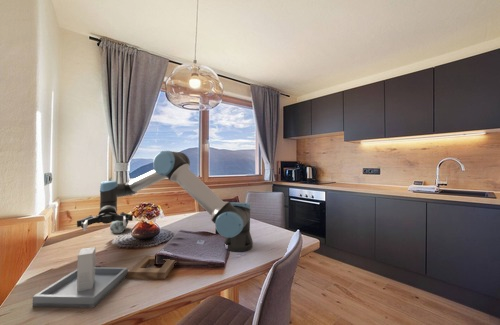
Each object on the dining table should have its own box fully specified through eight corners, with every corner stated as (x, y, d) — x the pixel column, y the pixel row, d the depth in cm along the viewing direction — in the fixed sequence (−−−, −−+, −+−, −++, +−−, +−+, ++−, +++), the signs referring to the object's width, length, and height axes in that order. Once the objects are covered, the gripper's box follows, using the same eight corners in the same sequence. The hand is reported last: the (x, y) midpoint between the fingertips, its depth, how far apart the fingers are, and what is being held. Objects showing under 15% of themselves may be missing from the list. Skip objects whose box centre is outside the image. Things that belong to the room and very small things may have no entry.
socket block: (177, 261, 94) (177, 256, 94) (164, 279, 80) (165, 272, 80) (145, 261, 93) (145, 255, 93) (127, 278, 79) (127, 271, 79)
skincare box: (80, 283, 74) (80, 248, 74) (95, 280, 76) (96, 246, 76) (76, 292, 69) (77, 255, 69) (92, 289, 71) (93, 252, 71)
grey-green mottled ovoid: (127, 228, 127) (120, 213, 128) (110, 237, 124) (103, 222, 125) (133, 227, 140) (127, 214, 141) (118, 235, 136) (112, 221, 137)
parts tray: (127, 275, 81) (127, 267, 81) (93, 307, 63) (93, 297, 63) (80, 274, 81) (80, 266, 81) (32, 306, 63) (32, 296, 63)
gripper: (136, 218, 112) (139, 229, 94) (75, 225, 99) (65, 239, 81) (136, 204, 112) (139, 212, 94) (75, 209, 99) (65, 219, 81)
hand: (105, 224), depth 87 cm, fingers open, 13 cm apart
